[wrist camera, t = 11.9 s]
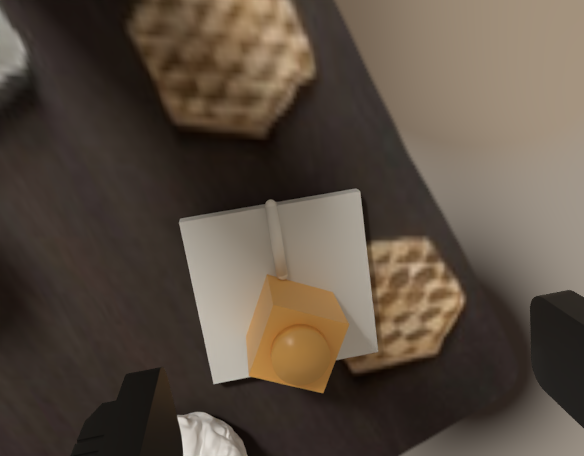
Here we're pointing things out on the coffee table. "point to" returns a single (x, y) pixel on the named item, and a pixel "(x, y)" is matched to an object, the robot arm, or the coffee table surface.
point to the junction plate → (277, 269)
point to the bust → (208, 436)
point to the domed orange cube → (295, 334)
